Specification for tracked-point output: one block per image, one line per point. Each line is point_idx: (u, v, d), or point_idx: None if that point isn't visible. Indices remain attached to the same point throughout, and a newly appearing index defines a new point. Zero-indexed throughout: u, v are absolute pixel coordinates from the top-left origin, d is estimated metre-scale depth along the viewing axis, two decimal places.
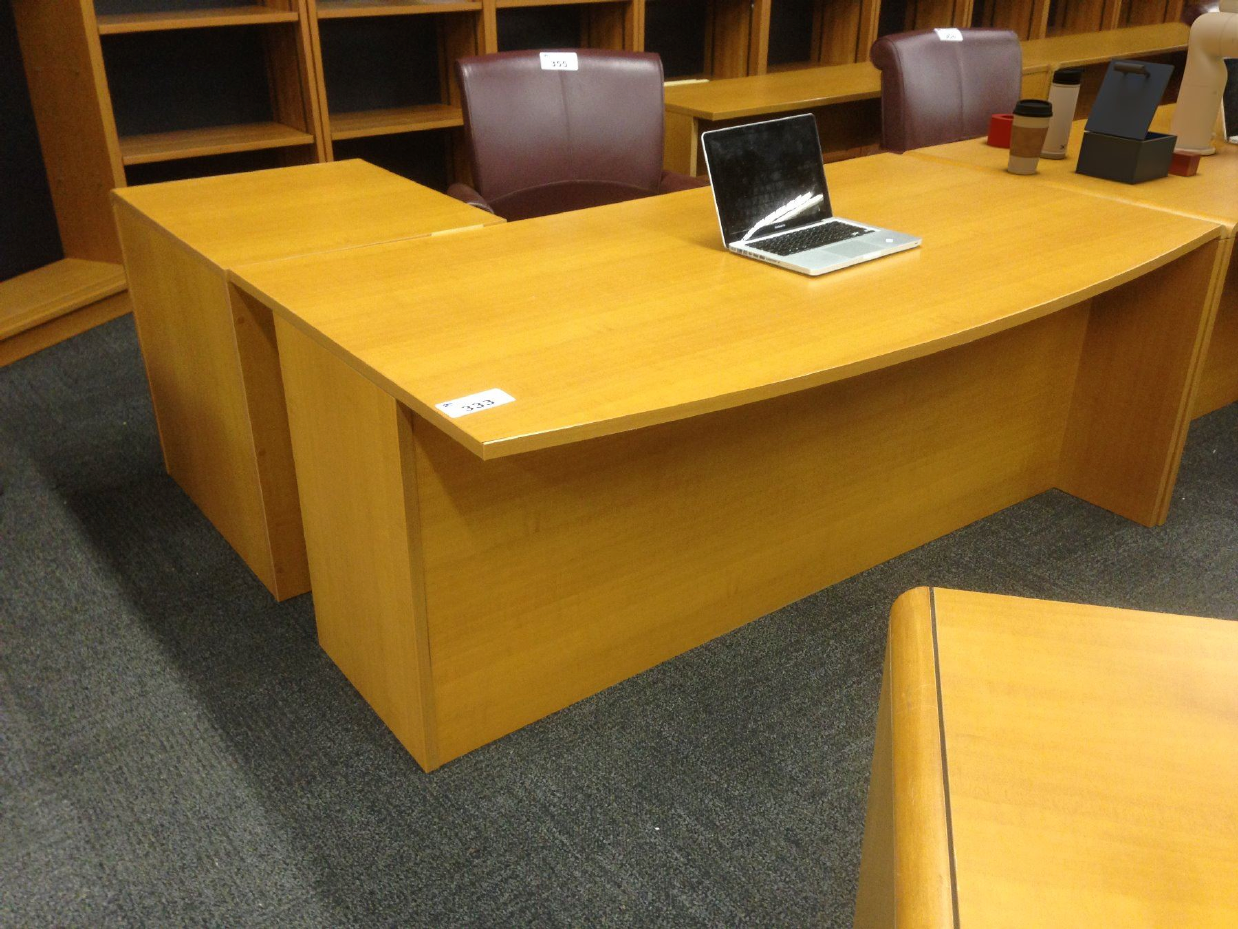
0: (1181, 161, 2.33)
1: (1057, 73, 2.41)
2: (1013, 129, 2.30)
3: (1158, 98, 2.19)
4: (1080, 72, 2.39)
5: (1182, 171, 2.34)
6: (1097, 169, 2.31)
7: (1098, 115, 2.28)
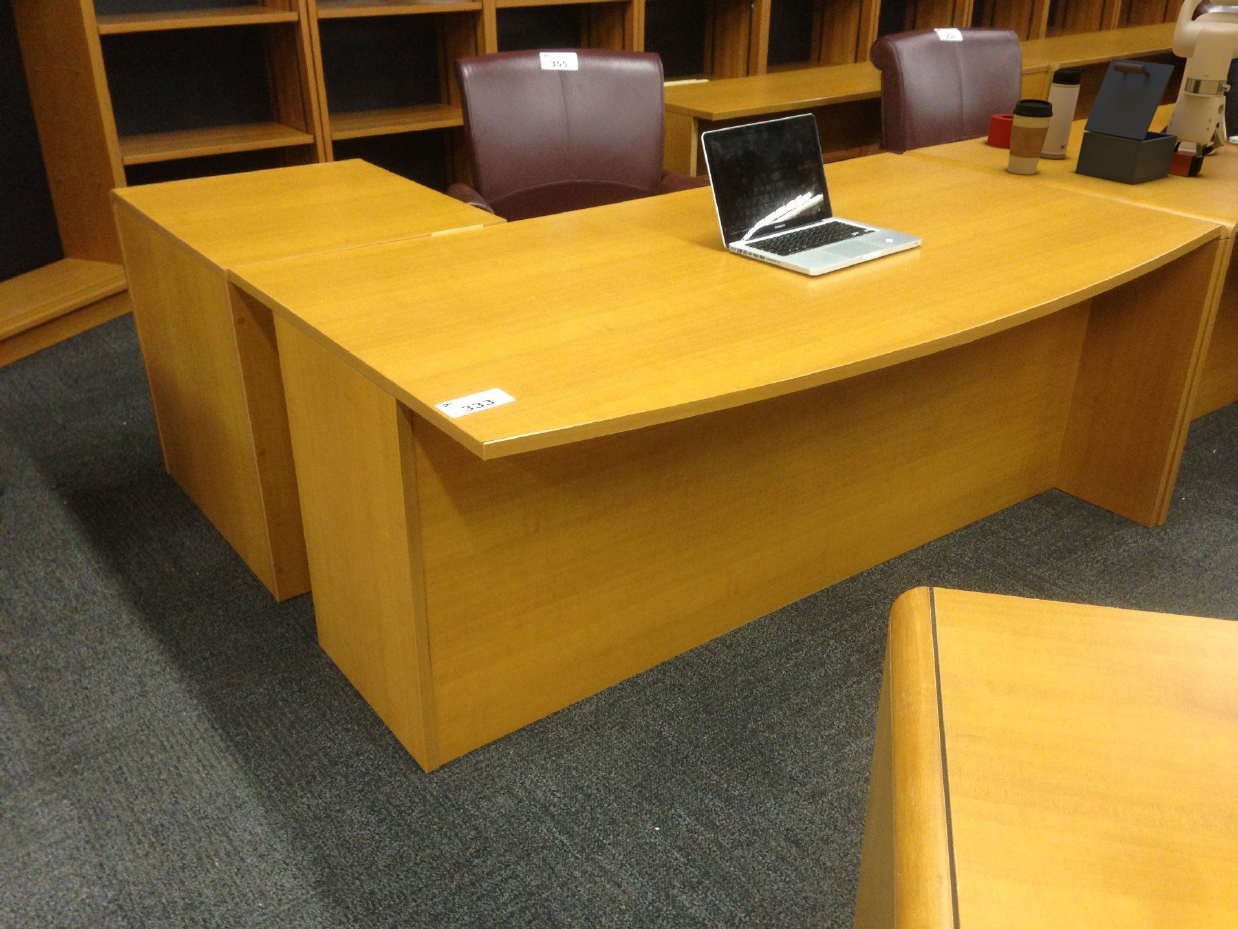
0: (1181, 161, 2.33)
1: (1057, 73, 2.41)
2: (1013, 129, 2.30)
3: (1158, 98, 2.19)
4: (1080, 72, 2.39)
5: (1182, 171, 2.34)
6: (1097, 169, 2.31)
7: (1098, 115, 2.28)
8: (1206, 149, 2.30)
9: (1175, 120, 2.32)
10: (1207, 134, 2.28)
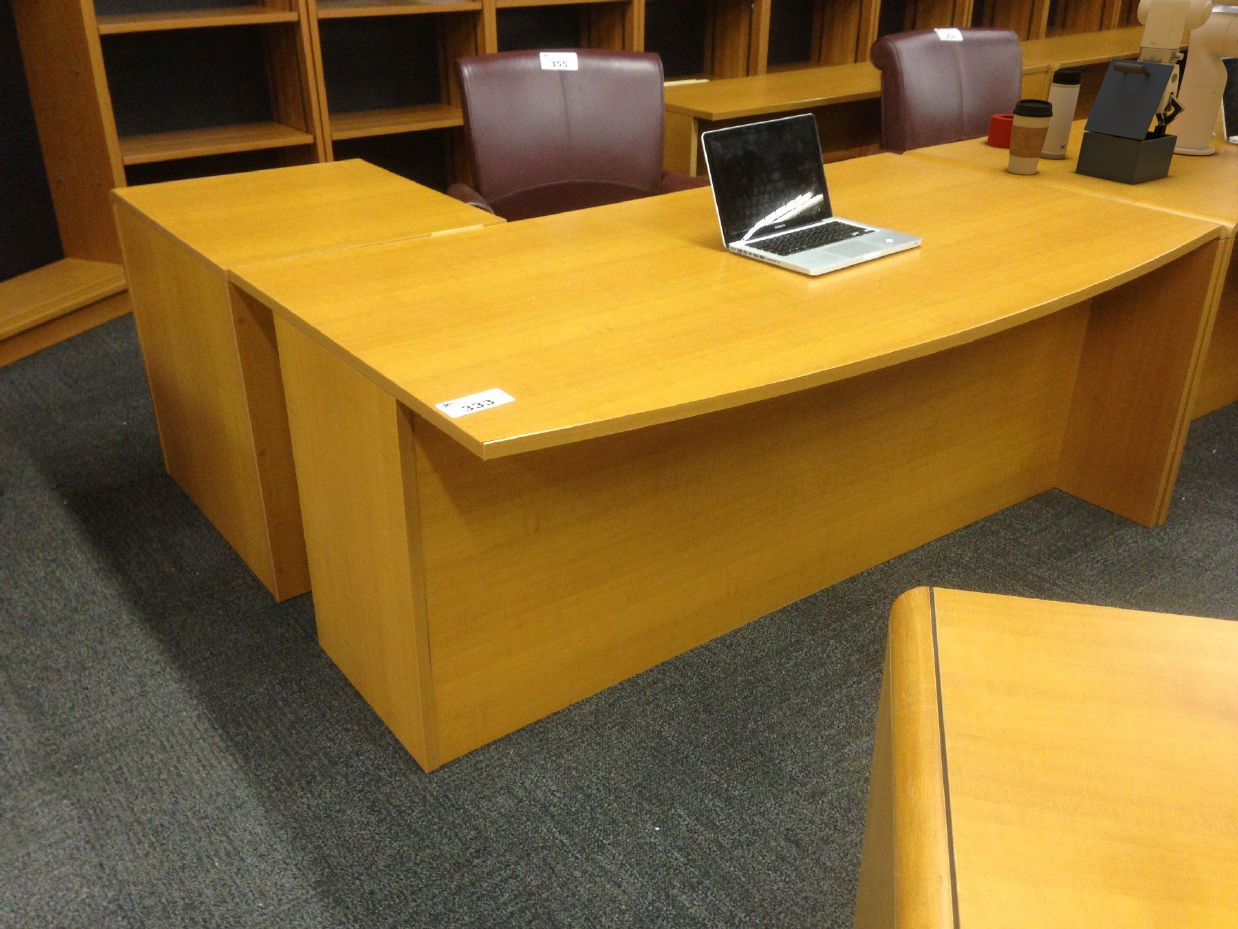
0: None
1: (1057, 73, 2.41)
2: (1013, 129, 2.30)
3: (1158, 98, 2.19)
4: (1080, 72, 2.39)
5: None
6: (1097, 169, 2.31)
7: (1098, 115, 2.28)
8: (1169, 117, 2.25)
9: None
10: (1161, 104, 2.25)
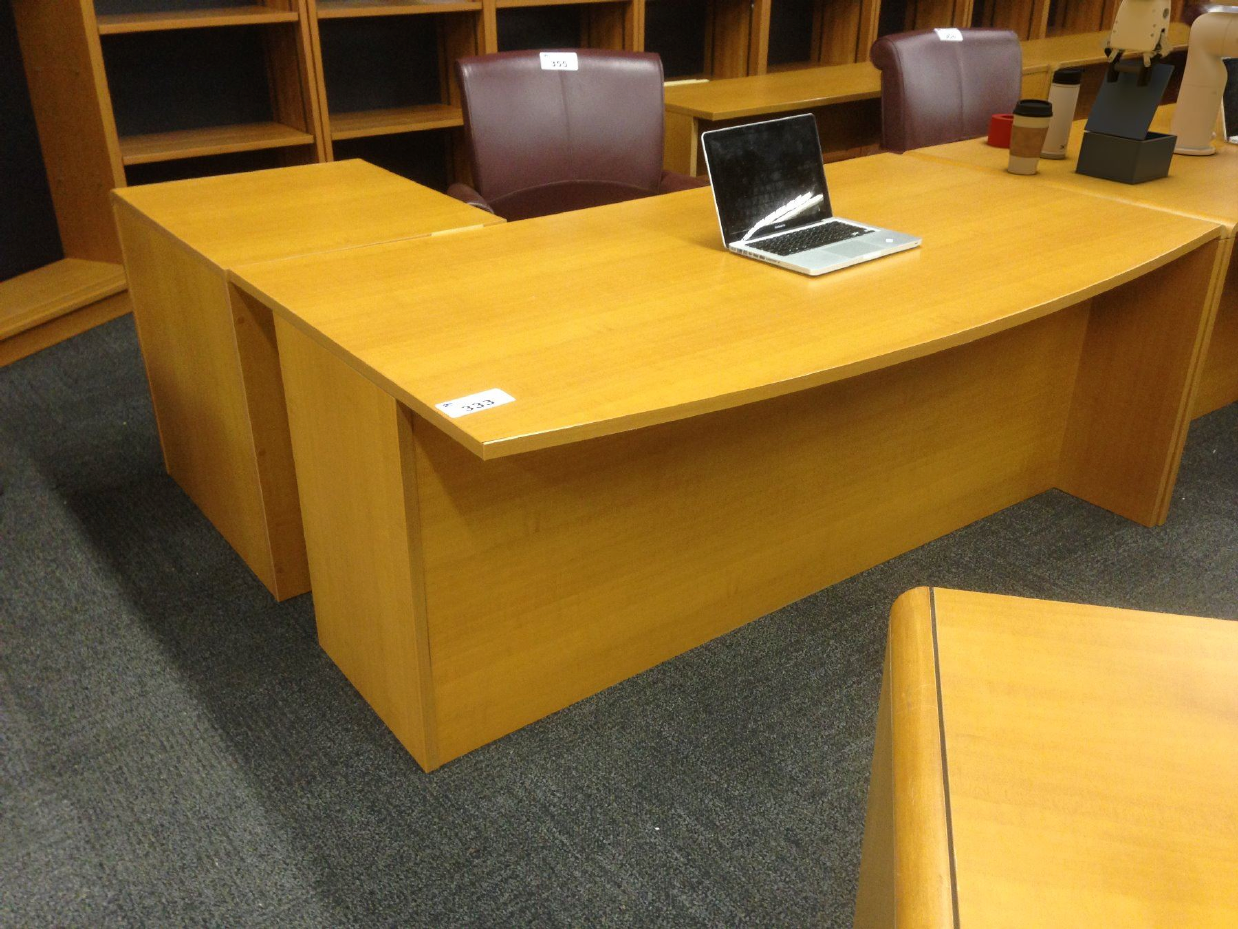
0: None
1: (1057, 73, 2.41)
2: (1013, 129, 2.30)
3: (1158, 98, 2.19)
4: (1080, 72, 2.39)
5: None
6: (1097, 169, 2.31)
7: (1098, 115, 2.28)
8: (1155, 57, 2.15)
9: (1118, 28, 2.18)
10: (1151, 41, 2.13)
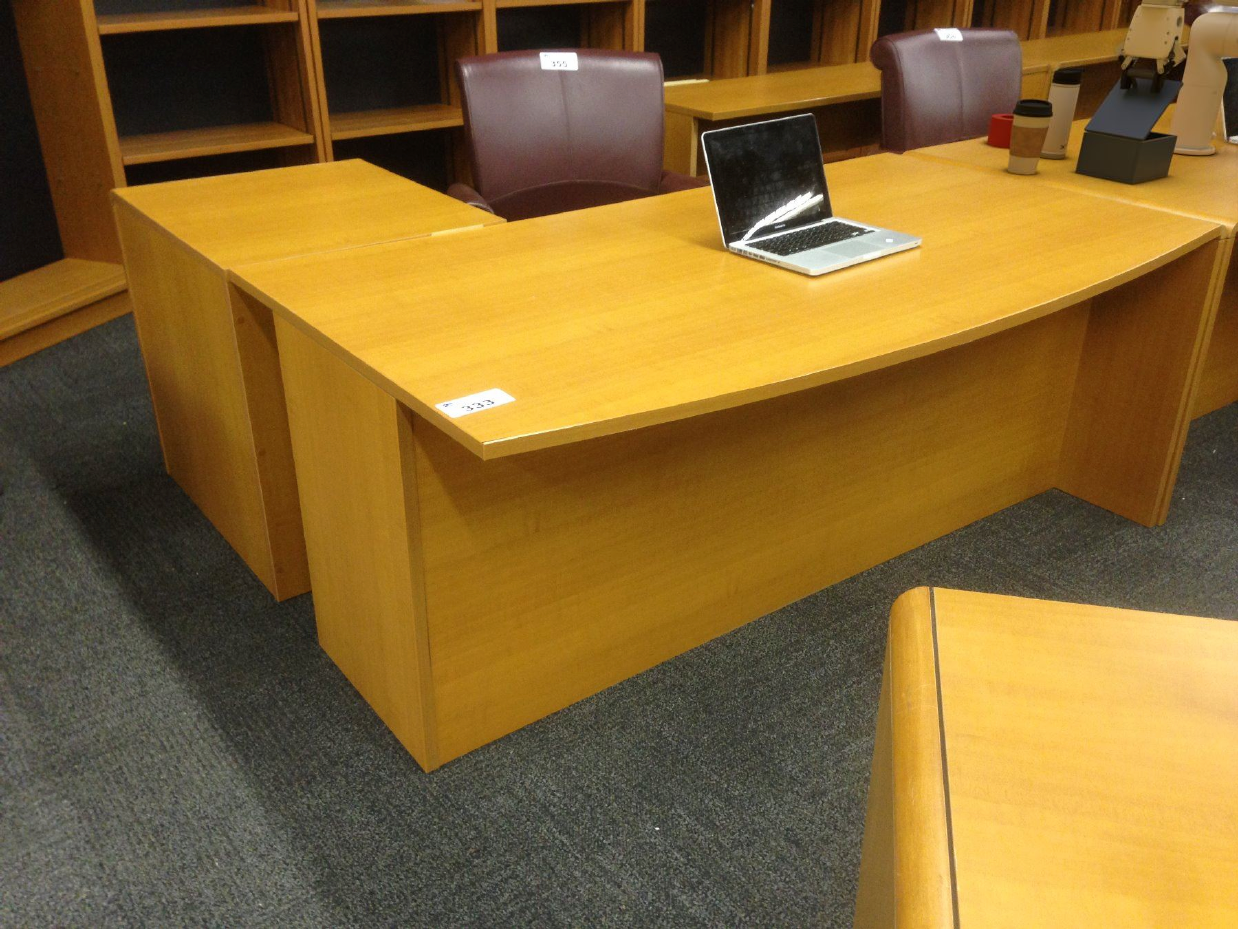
0: None
1: (1057, 73, 2.41)
2: (1013, 129, 2.30)
3: (1164, 107, 2.22)
4: (1080, 72, 2.39)
5: None
6: (1097, 169, 2.31)
7: (1101, 118, 2.29)
8: (1168, 64, 2.19)
9: (1132, 35, 2.22)
10: (1165, 48, 2.17)
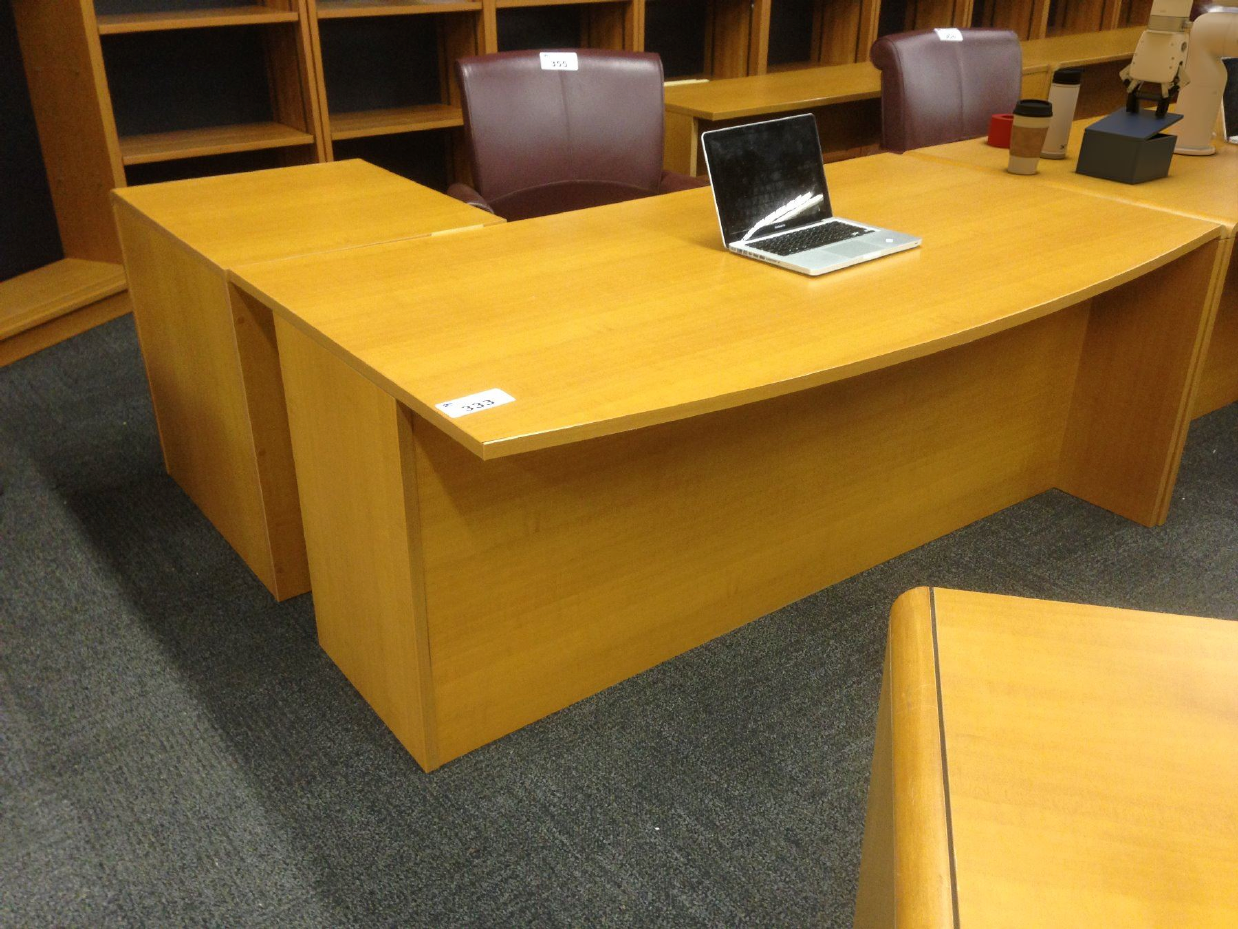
0: None
1: (1057, 73, 2.41)
2: (1013, 129, 2.30)
3: (1165, 124, 2.25)
4: (1080, 72, 2.39)
5: None
6: (1097, 169, 2.31)
7: (1102, 124, 2.30)
8: (1173, 88, 2.24)
9: (1138, 60, 2.27)
10: (1170, 73, 2.22)
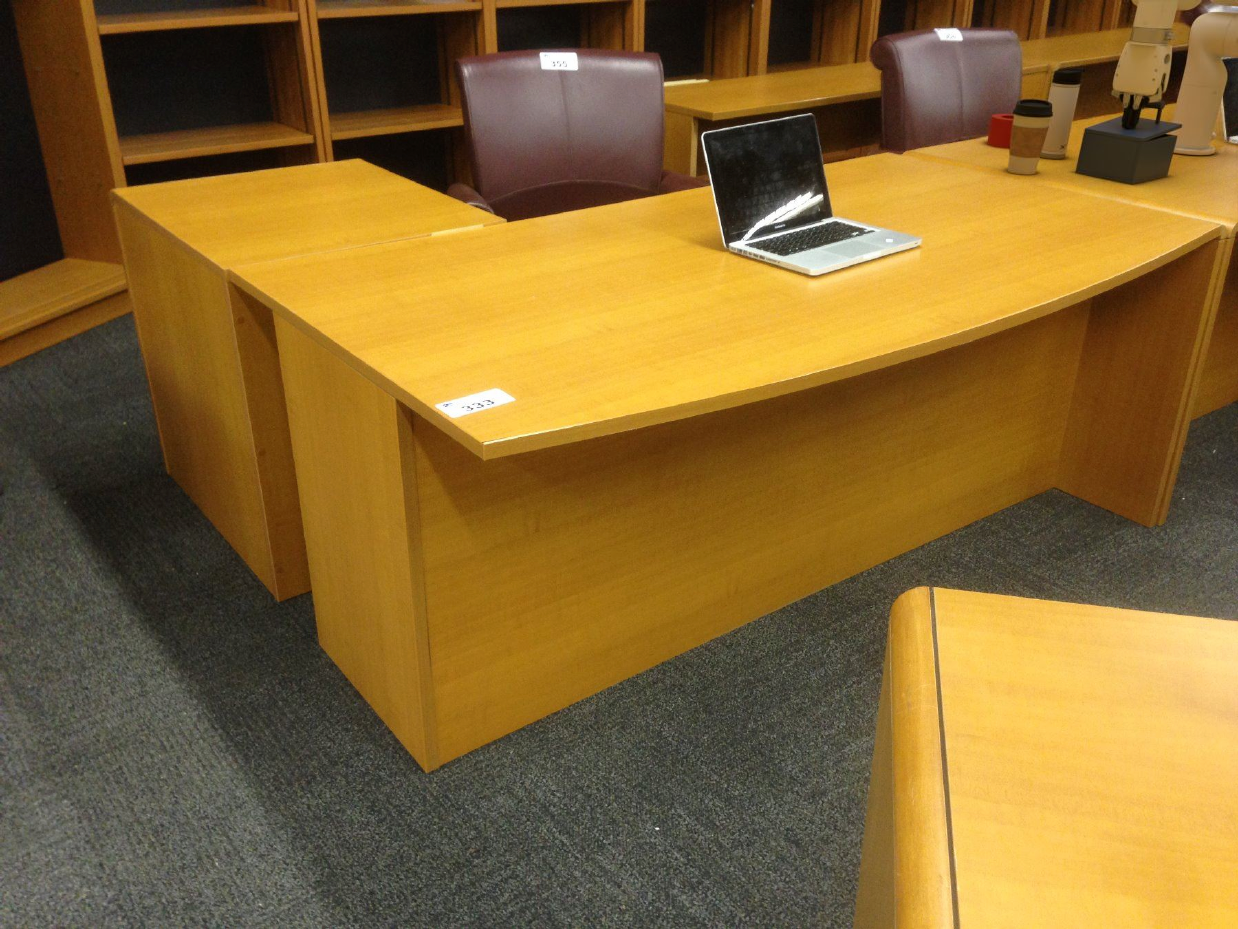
0: None
1: (1057, 73, 2.41)
2: (1013, 129, 2.30)
3: (1164, 130, 2.25)
4: (1080, 72, 2.39)
5: None
6: (1097, 169, 2.31)
7: (1102, 126, 2.31)
8: (1143, 100, 2.24)
9: (1121, 71, 2.24)
10: (1153, 85, 2.20)
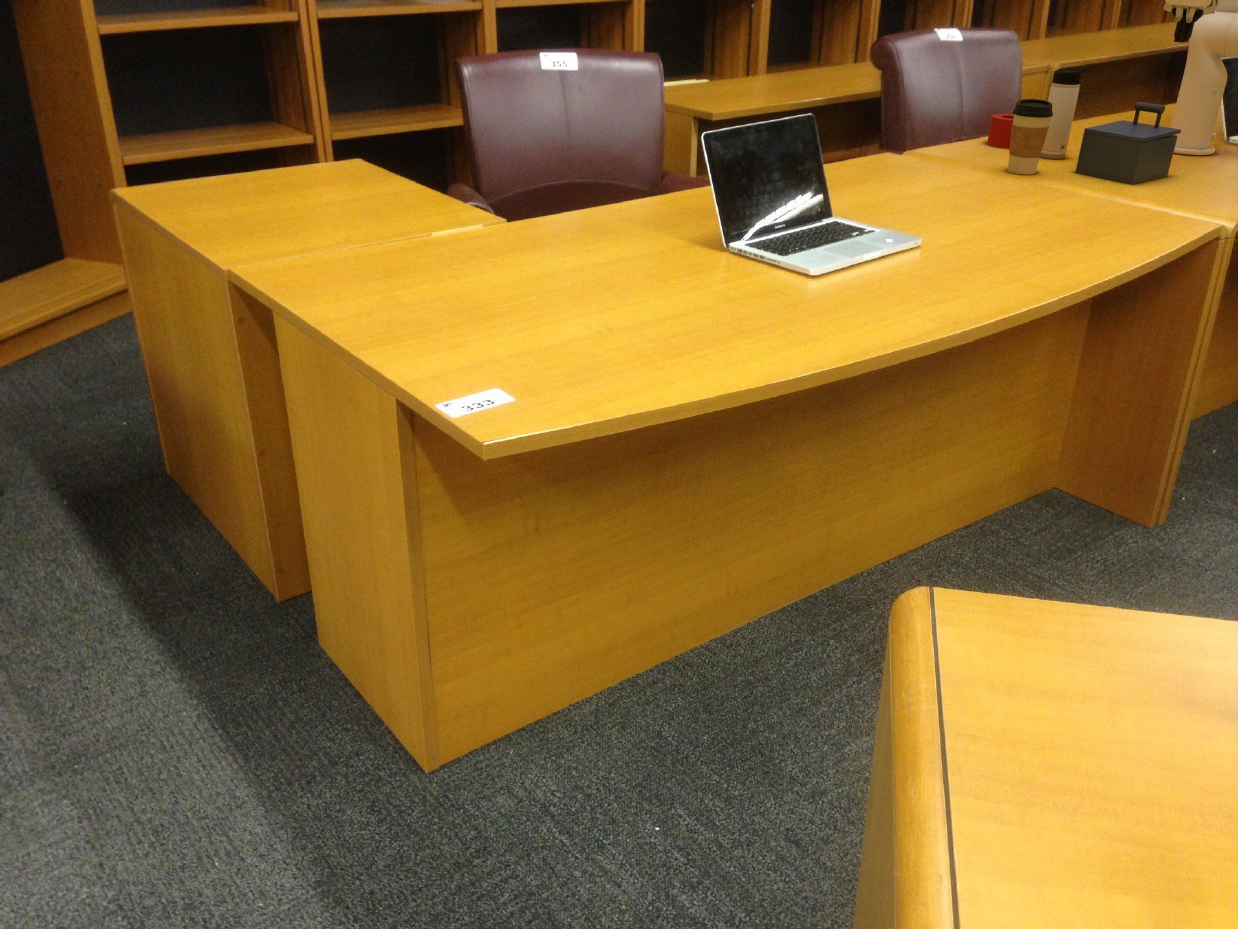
0: None
1: (1057, 73, 2.41)
2: (1013, 129, 2.30)
3: (1163, 133, 2.26)
4: (1080, 72, 2.39)
5: None
6: (1097, 169, 2.31)
7: (1102, 127, 2.31)
8: (1196, 13, 2.23)
9: None
10: None
